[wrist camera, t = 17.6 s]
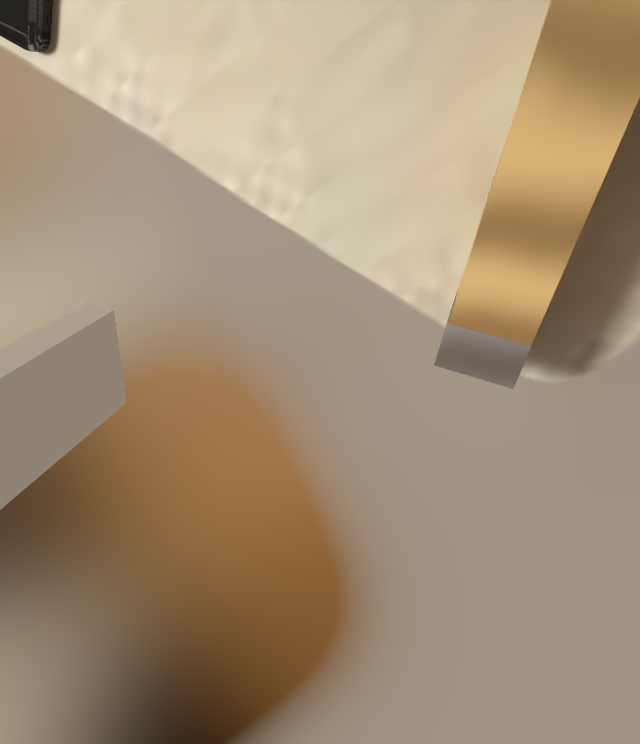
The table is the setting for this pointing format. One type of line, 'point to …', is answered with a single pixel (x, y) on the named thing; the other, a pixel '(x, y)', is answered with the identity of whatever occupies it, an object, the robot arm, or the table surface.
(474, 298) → the tan long block
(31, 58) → the table surface
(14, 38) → the phone
